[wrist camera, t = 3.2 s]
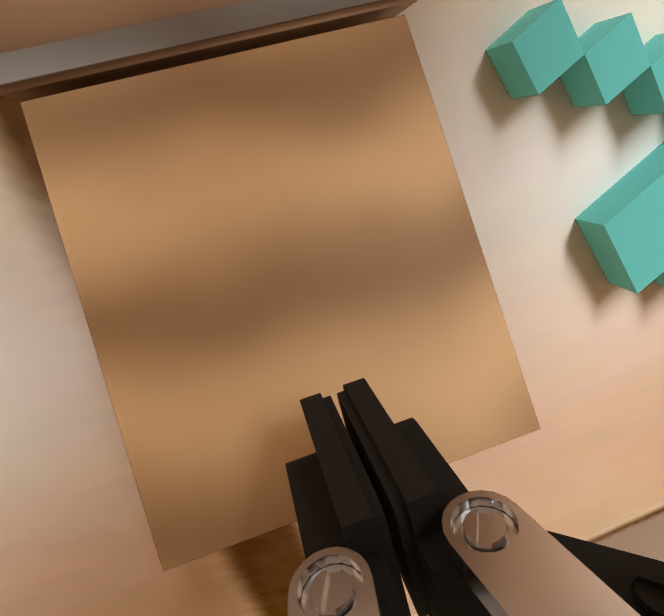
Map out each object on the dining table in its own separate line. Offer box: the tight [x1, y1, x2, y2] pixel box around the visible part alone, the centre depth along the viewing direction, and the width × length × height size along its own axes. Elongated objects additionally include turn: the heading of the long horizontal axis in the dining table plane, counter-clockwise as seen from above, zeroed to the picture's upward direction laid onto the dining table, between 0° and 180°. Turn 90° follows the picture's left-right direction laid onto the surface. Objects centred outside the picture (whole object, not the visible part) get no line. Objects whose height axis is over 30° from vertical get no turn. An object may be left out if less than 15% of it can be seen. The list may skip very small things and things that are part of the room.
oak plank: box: [20, 15, 540, 571], centre depth 14 cm, size 14×12×2 cm
